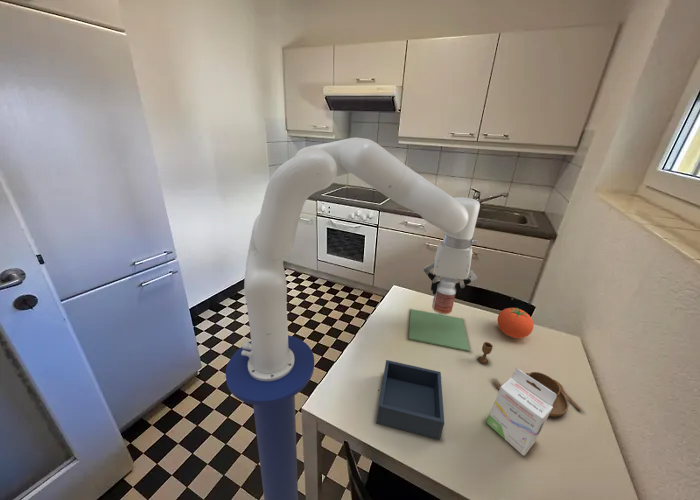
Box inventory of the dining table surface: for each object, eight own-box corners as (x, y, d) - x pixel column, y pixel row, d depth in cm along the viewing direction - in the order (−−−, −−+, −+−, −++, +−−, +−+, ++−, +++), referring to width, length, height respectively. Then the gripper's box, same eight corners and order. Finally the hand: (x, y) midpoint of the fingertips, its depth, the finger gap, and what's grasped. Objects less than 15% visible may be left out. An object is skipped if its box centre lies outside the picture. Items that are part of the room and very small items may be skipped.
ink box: (484, 423, 63) (502, 375, 57) (496, 412, 66) (514, 365, 60) (524, 457, 57) (549, 407, 51) (535, 444, 59) (560, 395, 54)
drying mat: (408, 339, 87) (409, 338, 87) (410, 310, 102) (410, 309, 101) (469, 351, 84) (469, 350, 83) (462, 319, 98) (462, 318, 98)
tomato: (526, 330, 95) (536, 305, 91) (530, 349, 86) (540, 323, 82) (493, 320, 99) (501, 296, 95) (494, 338, 90) (502, 312, 86)
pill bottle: (455, 314, 87) (463, 284, 83) (437, 316, 86) (444, 285, 82) (445, 303, 93) (451, 274, 89) (428, 305, 92) (434, 275, 87)
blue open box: (376, 423, 62) (378, 406, 59) (383, 375, 74) (386, 359, 72) (439, 440, 59) (444, 422, 57) (436, 387, 71) (440, 371, 69)
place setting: (522, 423, 64) (530, 405, 61) (474, 357, 82) (478, 341, 79) (587, 415, 66) (597, 397, 64) (526, 353, 84) (532, 338, 82)
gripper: (486, 240, 82) (472, 293, 89) (426, 233, 85) (417, 283, 92) (491, 250, 75) (476, 306, 82) (426, 241, 78) (416, 295, 86)
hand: (445, 293), depth 87 cm, fingers closed on pill bottle, 6 cm apart
